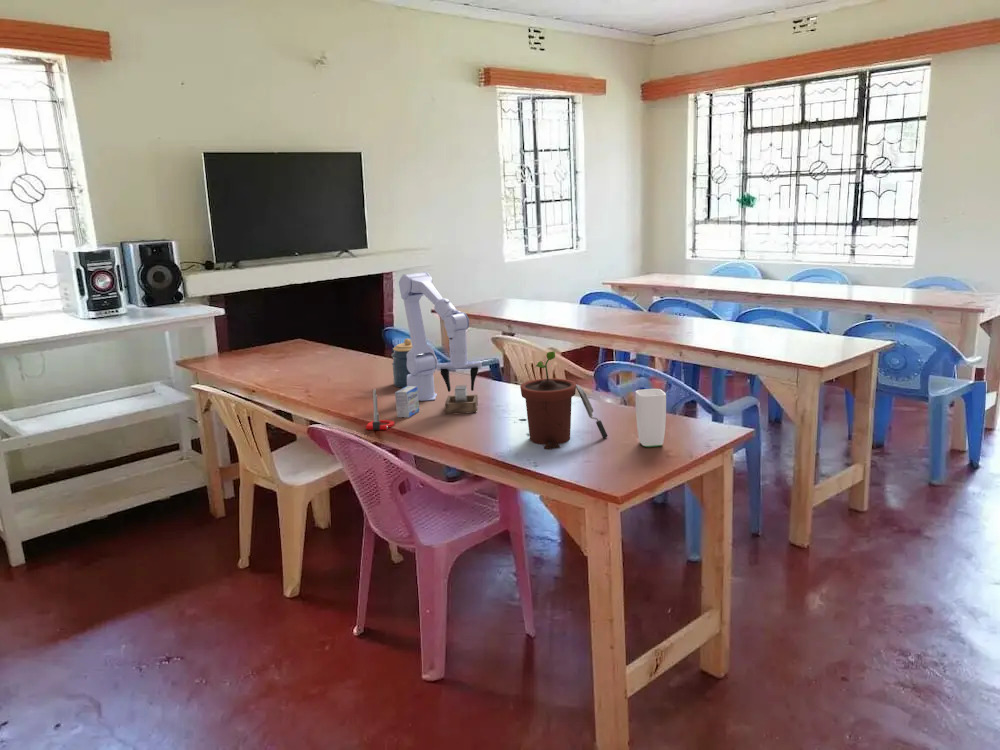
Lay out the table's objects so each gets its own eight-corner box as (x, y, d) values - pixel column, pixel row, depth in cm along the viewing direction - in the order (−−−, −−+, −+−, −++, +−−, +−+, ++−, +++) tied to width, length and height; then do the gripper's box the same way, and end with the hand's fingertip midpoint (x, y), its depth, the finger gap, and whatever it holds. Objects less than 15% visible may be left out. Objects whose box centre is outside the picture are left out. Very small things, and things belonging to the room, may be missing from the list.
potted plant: (547, 426, 237) (544, 345, 231) (608, 437, 223) (607, 351, 218) (510, 441, 224) (506, 356, 218) (572, 455, 210) (570, 364, 204)
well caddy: (445, 414, 255) (445, 403, 255) (448, 405, 265) (447, 395, 264) (476, 412, 255) (475, 402, 254) (478, 404, 265) (477, 394, 264)
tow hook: (372, 423, 251) (363, 430, 242) (369, 383, 249) (360, 389, 240) (397, 423, 250) (389, 430, 241) (395, 383, 247) (386, 389, 238)
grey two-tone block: (456, 409, 258) (454, 389, 256) (457, 405, 263) (456, 385, 261) (466, 409, 258) (465, 388, 256) (467, 405, 263) (466, 385, 261)
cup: (667, 447, 212) (667, 394, 209) (641, 449, 212) (640, 396, 208) (660, 439, 219) (660, 388, 216) (634, 441, 219) (634, 389, 215)
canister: (399, 390, 290) (395, 343, 286) (389, 383, 302) (385, 338, 298) (432, 385, 295) (429, 339, 291) (421, 378, 307) (418, 334, 303)
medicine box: (409, 418, 253) (406, 392, 251) (396, 417, 254) (394, 391, 252) (419, 411, 260) (417, 386, 258) (407, 410, 262) (405, 385, 260)
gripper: (434, 353, 252) (437, 394, 255) (479, 351, 251) (482, 392, 254) (437, 349, 259) (439, 388, 262) (481, 347, 258) (483, 387, 261)
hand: (460, 390), depth 259 cm, fingers open, 7 cm apart
